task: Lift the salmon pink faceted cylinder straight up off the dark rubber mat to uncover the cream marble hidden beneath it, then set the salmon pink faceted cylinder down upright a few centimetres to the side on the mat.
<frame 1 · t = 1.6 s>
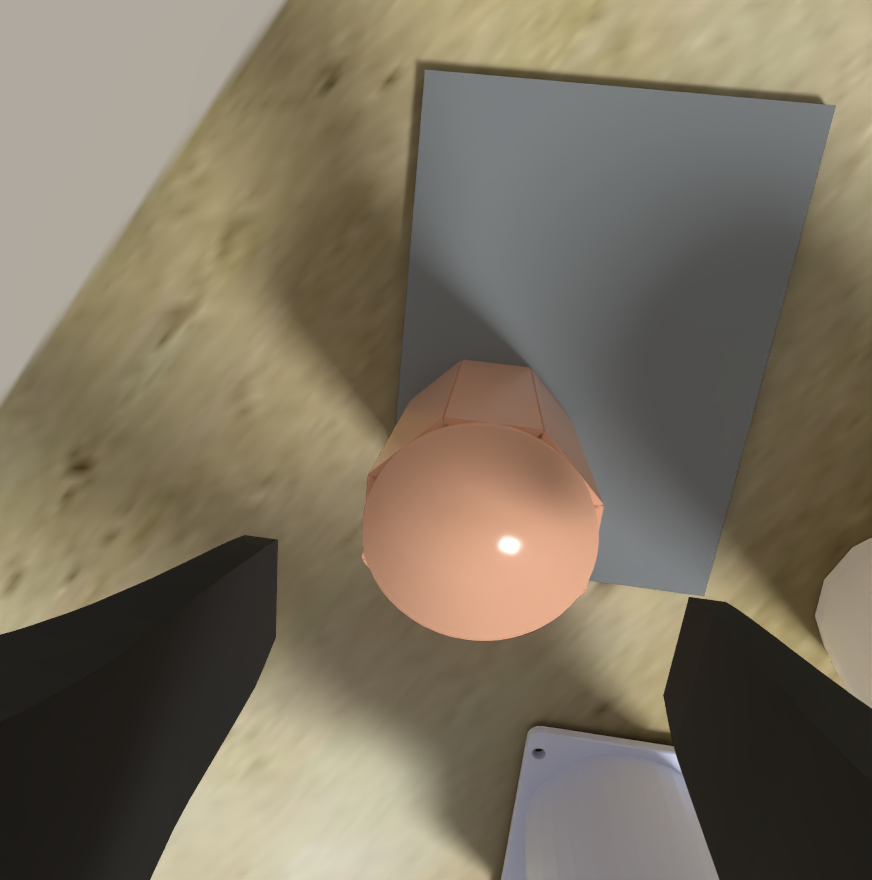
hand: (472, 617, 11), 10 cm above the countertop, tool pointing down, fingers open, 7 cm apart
salmon pink faceted cylinder: (482, 481, 17), on the mat
mat: (577, 357, 20), on the countertop
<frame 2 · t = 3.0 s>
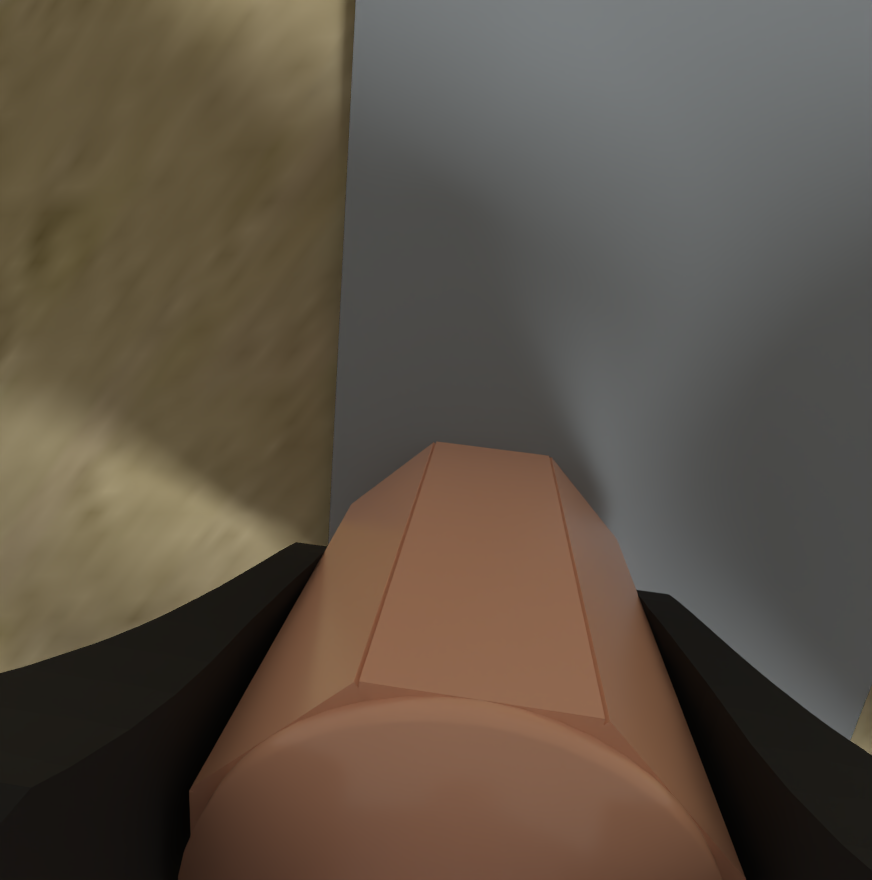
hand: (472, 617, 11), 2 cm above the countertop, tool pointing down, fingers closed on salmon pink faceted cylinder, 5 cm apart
salmon pink faceted cylinder: (466, 692, 9), on the mat, touching gripper
mat: (628, 438, 12), on the countertop
when the fingers open (3 cm above the countertop, at t = 7.9 s): salmon pink faceted cylinder drops 1 cm, resting on mat.
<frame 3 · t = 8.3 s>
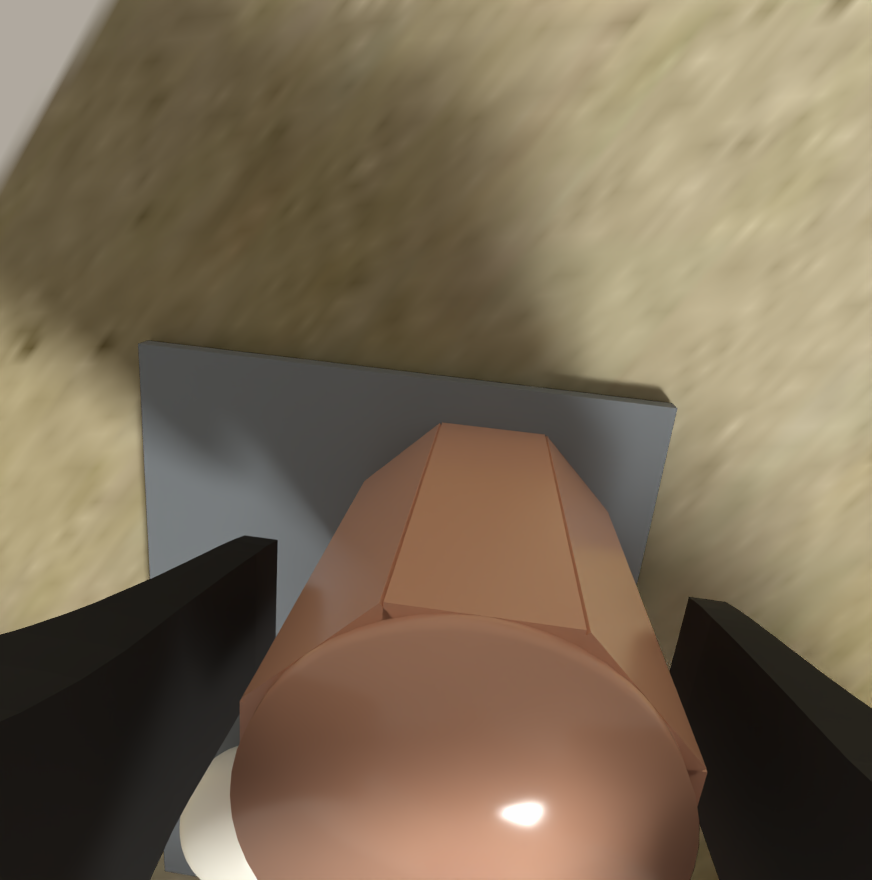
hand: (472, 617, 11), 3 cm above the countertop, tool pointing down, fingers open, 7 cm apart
salmon pink faceted cylinder: (470, 640, 10), on the mat
mat: (377, 670, 15), on the countertop
marble: (248, 813, 15), on the mat
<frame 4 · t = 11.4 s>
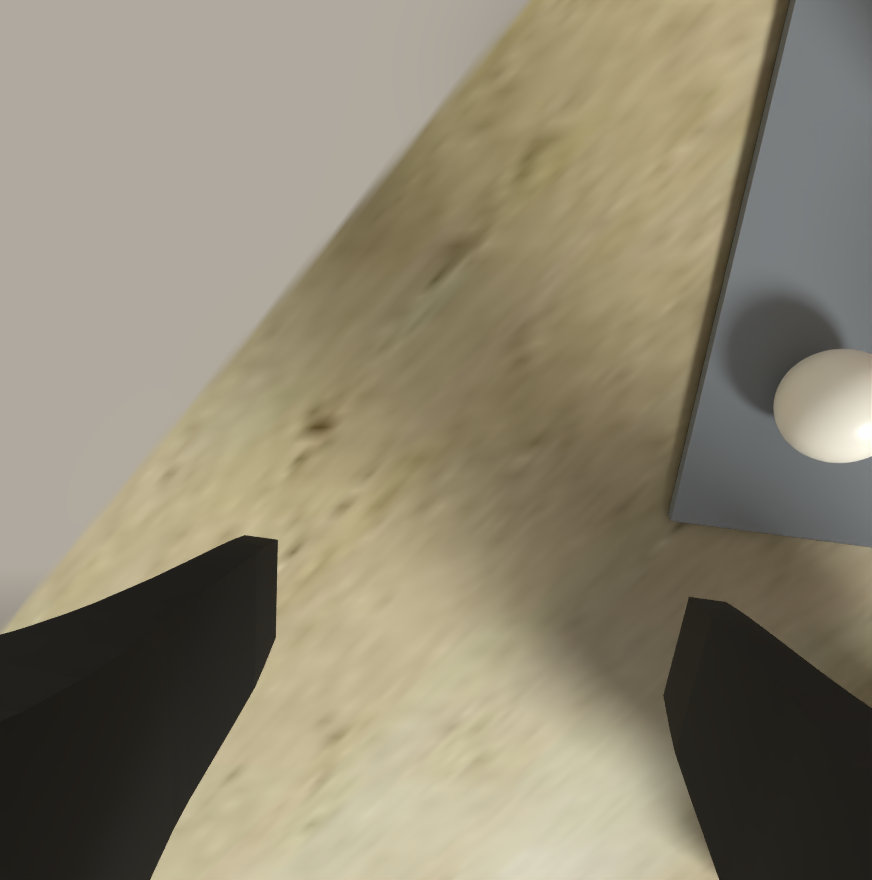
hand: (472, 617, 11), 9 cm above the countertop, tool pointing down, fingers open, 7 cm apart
marble: (837, 406, 17), on the mat
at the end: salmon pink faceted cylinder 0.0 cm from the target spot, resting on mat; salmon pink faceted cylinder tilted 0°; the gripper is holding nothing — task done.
